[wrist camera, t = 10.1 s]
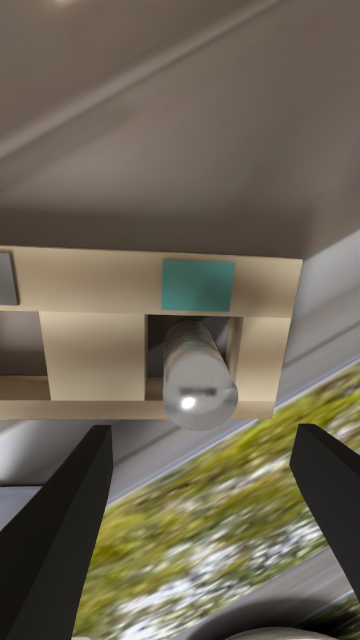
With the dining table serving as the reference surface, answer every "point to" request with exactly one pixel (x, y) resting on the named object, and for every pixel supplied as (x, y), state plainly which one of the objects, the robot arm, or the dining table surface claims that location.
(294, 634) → the dinner plate
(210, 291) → the socket block
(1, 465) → the dining table surface
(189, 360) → the steel peg
